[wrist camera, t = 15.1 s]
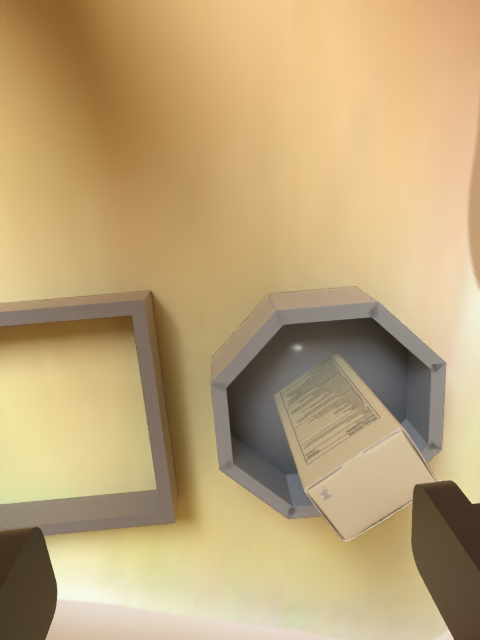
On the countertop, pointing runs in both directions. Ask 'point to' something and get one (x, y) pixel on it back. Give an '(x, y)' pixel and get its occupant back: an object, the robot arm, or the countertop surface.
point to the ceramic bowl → (299, 357)
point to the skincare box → (348, 448)
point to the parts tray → (164, 500)
